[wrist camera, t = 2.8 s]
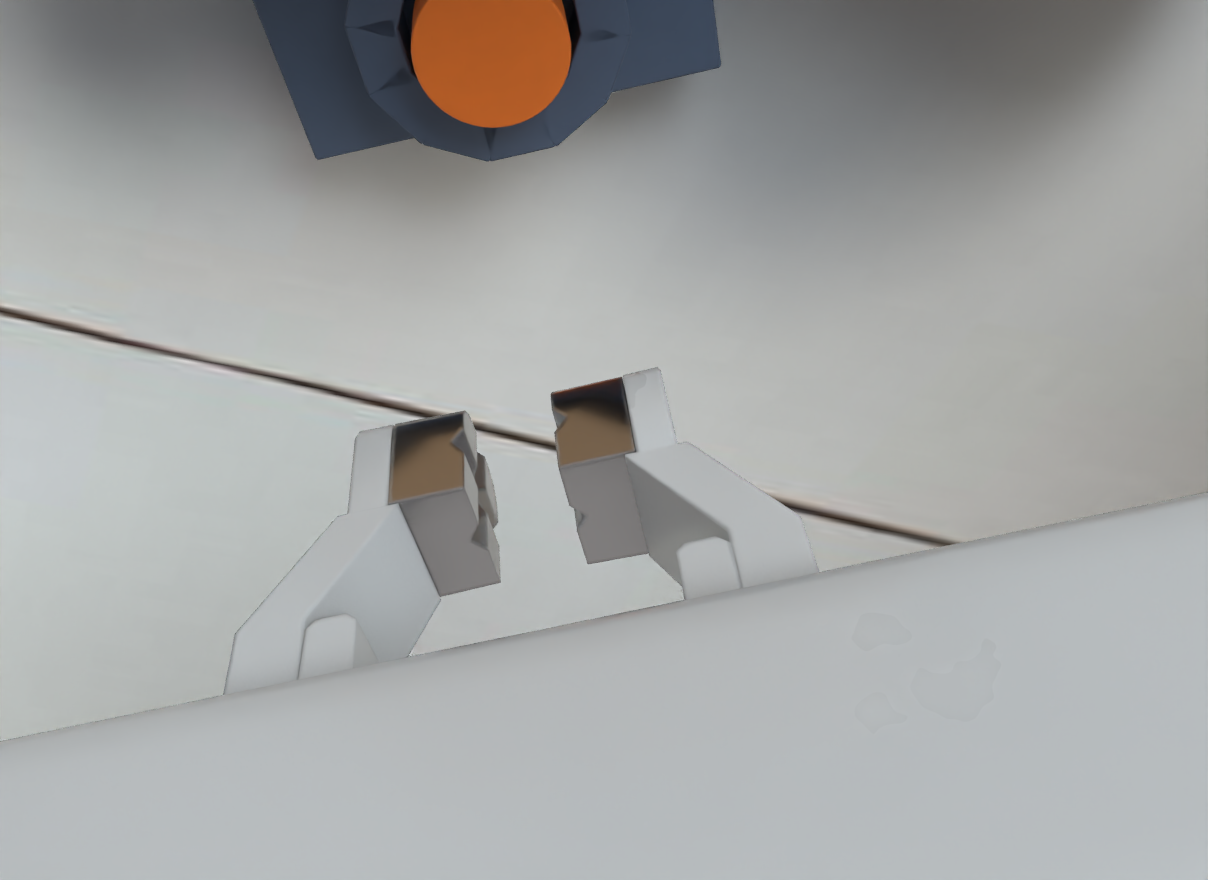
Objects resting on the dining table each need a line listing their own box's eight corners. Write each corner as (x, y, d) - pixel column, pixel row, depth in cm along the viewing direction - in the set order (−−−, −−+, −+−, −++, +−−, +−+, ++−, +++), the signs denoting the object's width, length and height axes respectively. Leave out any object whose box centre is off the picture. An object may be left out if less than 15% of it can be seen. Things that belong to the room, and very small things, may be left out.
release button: (392, -35, 25) (389, -8, 24) (546, -71, 25) (552, -46, 24) (437, 112, 28) (437, 143, 26) (579, 79, 28) (585, 109, 26)
